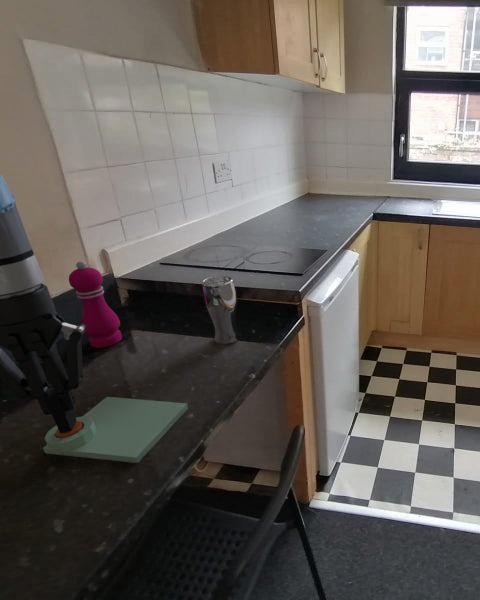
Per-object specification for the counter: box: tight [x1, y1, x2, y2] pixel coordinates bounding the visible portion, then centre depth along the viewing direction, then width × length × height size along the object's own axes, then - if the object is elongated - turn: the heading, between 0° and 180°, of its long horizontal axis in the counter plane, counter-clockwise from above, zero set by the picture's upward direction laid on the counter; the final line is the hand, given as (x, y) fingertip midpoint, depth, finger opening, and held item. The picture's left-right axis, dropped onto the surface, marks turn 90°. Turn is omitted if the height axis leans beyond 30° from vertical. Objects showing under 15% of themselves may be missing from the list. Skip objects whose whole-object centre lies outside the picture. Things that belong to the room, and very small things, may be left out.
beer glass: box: [201, 275, 243, 345], centre depth 94 cm, size 7×7×15 cm
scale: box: [42, 396, 189, 464], centre depth 68 cm, size 16×14×3 cm
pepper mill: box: [68, 260, 123, 349], centre depth 92 cm, size 7×7×20 cm
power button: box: [56, 421, 83, 438], centre depth 64 cm, size 3×3×2 cm
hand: (68, 426), depth 64 cm, fingers closed
